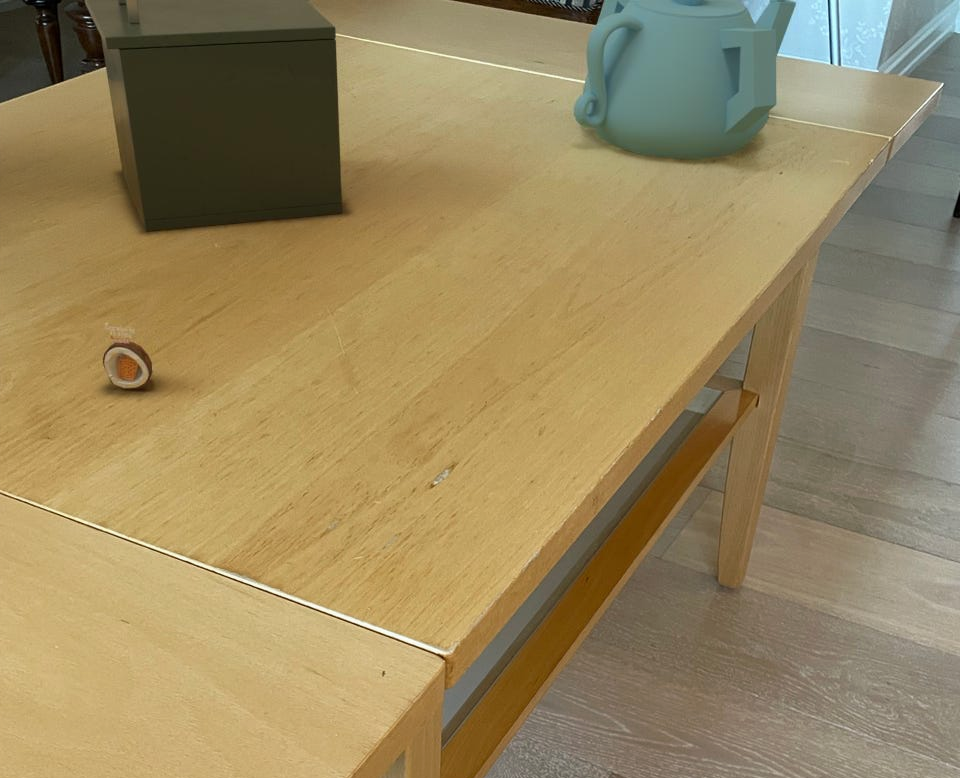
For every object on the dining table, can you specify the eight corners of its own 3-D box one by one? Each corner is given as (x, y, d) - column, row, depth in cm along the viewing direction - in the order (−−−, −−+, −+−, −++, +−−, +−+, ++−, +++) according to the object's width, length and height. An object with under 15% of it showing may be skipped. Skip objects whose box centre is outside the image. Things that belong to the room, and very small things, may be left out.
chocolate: (165, 378, 71) (156, 317, 68) (150, 395, 69) (140, 333, 67) (119, 372, 71) (109, 311, 69) (104, 389, 70) (92, 327, 67)
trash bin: (146, 231, 89) (119, 49, 80) (122, 173, 98) (96, 5, 90) (342, 213, 93) (336, 39, 85) (301, 158, 103) (292, -2, 94)
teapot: (752, 177, 104) (784, 5, 95) (547, 149, 108) (559, -18, 99) (774, 119, 118) (803, -35, 109) (591, 96, 122) (605, -54, 113)
